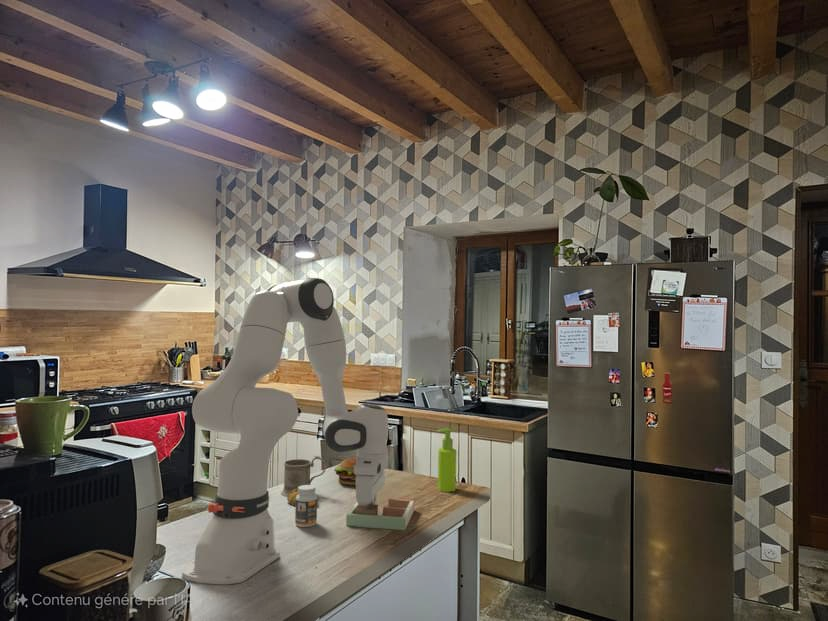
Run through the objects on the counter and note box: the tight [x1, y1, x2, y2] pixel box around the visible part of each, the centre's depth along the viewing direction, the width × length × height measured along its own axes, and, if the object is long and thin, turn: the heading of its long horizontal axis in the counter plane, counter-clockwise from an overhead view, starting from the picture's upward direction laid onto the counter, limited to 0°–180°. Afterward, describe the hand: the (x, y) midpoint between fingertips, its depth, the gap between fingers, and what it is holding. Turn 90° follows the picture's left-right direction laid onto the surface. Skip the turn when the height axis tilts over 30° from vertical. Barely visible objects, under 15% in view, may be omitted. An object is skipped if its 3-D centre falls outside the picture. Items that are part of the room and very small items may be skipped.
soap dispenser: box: [436, 428, 457, 493], centre depth 186 cm, size 6×7×20 cm
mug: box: [280, 455, 327, 498], centre depth 179 cm, size 14×10×12 cm
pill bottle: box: [294, 484, 318, 528], centre depth 151 cm, size 6×6×10 cm
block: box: [355, 503, 379, 516], centre depth 154 cm, size 6×6×4 cm
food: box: [334, 456, 356, 487], centre depth 194 cm, size 14×14×8 cm
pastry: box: [287, 489, 299, 507], centre depth 168 cm, size 9×7×4 cm
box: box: [345, 498, 415, 531], centre depth 161 cm, size 24×16×3 cm, turn 171°
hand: (370, 510), depth 158 cm, fingers closed
